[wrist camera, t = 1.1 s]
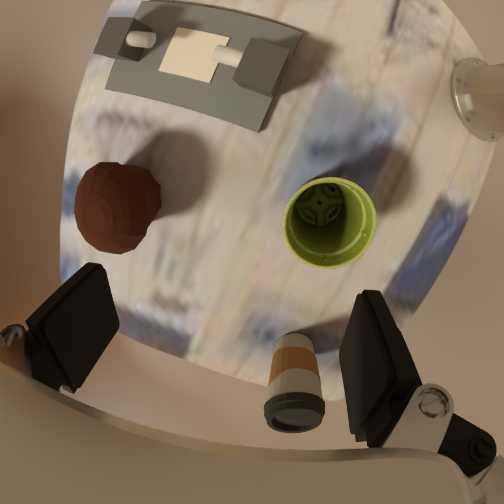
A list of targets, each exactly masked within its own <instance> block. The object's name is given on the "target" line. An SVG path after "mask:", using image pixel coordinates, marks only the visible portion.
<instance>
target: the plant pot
mask: <svg viewBox="0 0 504 504" xmlns="http://www.w3.org/2000/svg"><path fill="white" fill-rule="evenodd" d="M327 184H328V185H330V186H331V187H333V188H334V190H335V191H334V192H333V191H332V190H331V189H330V188H329V187H327V186H326V185H327ZM306 189H307V190H306ZM305 190H306V191H305ZM304 191H305V192H304ZM303 192H304V194H303V195H302V196H301V194H302V193H303ZM318 201H321V204H320V205H319V204H318V203H317V202H318ZM334 209H336V213H335V214H334V215H333V216H332V217H329V215H330V214H331V213H332V212H333V211H334ZM304 212H305V213H306V214H307V215H308V216H310V217H312V219H309V218H307V217H305V216H304V215H303V213H304ZM376 220H377V217H376V211H375V207H374V204H373V202H372V200H371V198H370V197H369V196H368V194H367V193H366V192H365V191H364V190H363V189H362V188H361V187H360V186H358V185H357V184H355V183H353V182H351V181H349V180H346V179H343V178H338V177H324V178H316V179H312V180H309V181H307V182H305V183H304V184H303V185H302V186H301V187H300V188H299V190H298V191H296V193H295V194H294V195H293V196H292V197H291V199H290V200H289V202H288V204H287V206H286V209H285V212H284V216H283V223H282V227H283V235H284V239H285V242H286V244H287V246H288V248H289V249H290V251H291V252H292V253H293V254H294V256H295V257H297V258H298V259H299V260H301V261H302V262H303V263H305V264H307V265H310V266H312V267H315V268H320V269H335V268H339V267H343V266H346V265H348V264H350V263H352V262H353V261H355V260H356V259H358V258H359V257H360V256H361V255H362V254H363V253H364V252H365V251H366V249H367V248H368V247H369V245H370V243H371V242H372V239H373V237H374V234H375V230H376Z"/></svg>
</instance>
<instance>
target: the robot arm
mask: <svg viewBox="0 0 504 504" xmlns="http://www.w3.org/2000/svg"><path fill="white" fill-rule="evenodd" d="M451 90H452V96H453V101H454V104H455V107H456V110H457V112H458V114H459V117H460V118H461V120H462V122H463V124H464V125H465V126H466V127H467V129H468V130H469V131H470V132H471V133H472V134H473V135H475V136H476V137H478V138H479V139H482V140H485V141H496V140H499V139H500V138H501V137H502V136H503V135H504V64H497V65H490V66H489V65H488V64H487V63H485V62H483V61H482V60H480V59H476V58H467V59H463V60H461V61H460V62H459V63H458V64H457V65H456V66H455V68H454V70H453V73H452V79H451ZM26 324H27V325H28V328H29V330H28V331H26V329H25V328H24V326H23V325H21V324H12V325H9V326H7V327H5V328H4V329H3V330H2V331H1V332H0V504H504V458H503V457H502V456H501V455H499V456H498V457H496V444H495V441H494V439H493V437H492V436H491V435H489V433H487V432H485V431H484V430H482V429H480V428H479V427H477V426H475V425H473V424H472V423H470V422H468V421H466V420H465V419H463V418H461V417H460V416H458V415H456V414H454V413H453V410H454V403H453V399H452V397H451V395H450V394H449V392H448V391H447V390H446V389H444V388H443V387H441V386H439V385H436V384H424V385H422V382H421V379H420V377H419V374H418V372H417V369H416V367H415V364H414V362H413V359H412V357H411V354H410V352H409V350H408V347H407V345H406V343H405V340H404V338H403V336H402V333H401V331H400V330H399V329H398V328H397V326H396V323H395V321H394V319H393V317H392V315H391V313H390V310H389V308H388V306H387V304H386V302H385V300H384V298H383V296H382V294H381V292H380V291H378V290H363V292H362V294H358V295H357V297H356V300H355V303H354V307H353V310H352V313H351V317H350V320H349V323H348V326H347V329H346V332H345V335H344V338H343V341H342V344H341V347H340V351H339V360H340V366H341V372H342V378H343V384H344V391H345V397H346V404H347V411H348V419H349V427H350V432H351V434H355V438H356V442H362V441H367V446H368V447H369V448H365V449H341V450H292V449H271V448H259V447H250V446H241V445H233V444H225V443H220V442H213V441H208V440H202V439H197V438H192V437H188V436H183V435H179V434H174V433H170V432H166V431H162V430H159V429H155V428H152V427H148V426H145V425H141V424H138V423H135V422H132V421H129V420H126V419H123V418H120V417H117V416H114V415H112V414H109V413H106V412H104V411H101V410H99V409H96V408H94V407H91V406H89V405H86V404H84V403H81V402H79V401H77V400H75V399H73V398H70V397H68V396H66V395H64V394H62V393H60V389H59V388H60V387H61V386H62V387H63V389H64V390H66V391H68V392H70V393H73V394H74V393H75V392H76V390H77V388H80V387H81V386H82V384H83V383H84V381H85V380H86V378H87V376H88V375H89V373H90V372H91V370H92V369H93V367H94V365H95V364H96V362H97V361H98V359H99V358H100V356H101V355H102V353H103V352H104V350H105V348H106V347H107V346H108V344H109V343H110V341H111V340H112V338H113V337H114V335H115V334H116V332H117V331H118V329H119V319H118V315H117V312H116V308H115V305H114V301H113V297H112V294H111V290H110V286H109V281H108V277H107V273H106V270H105V269H104V268H103V266H102V265H101V264H98V263H91V262H88V263H86V264H85V265H84V266H83V267H82V268H80V269H79V270H78V271H77V272H76V273H75V274H74V275H73V276H71V277H70V278H69V279H68V280H67V281H66V282H65V283H64V284H63V285H62V286H61V287H59V288H58V290H56V291H55V292H54V293H53V294H52V295H51V296H50V297H49V298H48V299H47V300H46V301H45V302H44V303H43V304H42V305H41V306H40V307H39V308H38V309H37V310H36V311H35V312H34V313H33V314H32V315H31V316H30V317H29V318H28V319H27V320H26Z"/></svg>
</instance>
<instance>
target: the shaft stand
mask: <svg viewBox="0 0 504 504" xmlns="http://www.w3.org/2000/svg"><path fill="white" fill-rule="evenodd" d="M301 36H302V32H300V31H297V30H294V29H291V28H288V27H286V26H283V25H279V24H276V23H273V22H270V21H266V20H263V19H259V18H256V17H252V16H248V15H244V14H240V13H236V12H231V11H226V10H221V9H216V8H210V7H204V6H198V5H190V4H182V3H171V2H157V1H142V2H141V4H140V6H139V8H138V10H137V12H136V14H135V16H134V18H127V17H108V19H107V22H106V24H105V26H104V28H103V30H102V33H101V35H100V37H99V40H98V42H97V44H96V47H95V49H94V52H93V53H95V54H99V55H103V56H106V57H110V58H113V59H115V61H114V64H113V66H112V69H111V72H110V75H109V78H108V81H107V84H106V87H105V89H107V90H112V91H117V92H122V93H127V94H132V95H136V96H141V97H145V98H149V99H153V100H157V101H161V102H165V103H169V104H173V105H176V106H180V107H183V108H187V109H190V110H194V111H197V112H200V113H203V114H206V115H210V116H213V117H216V118H219V119H222V120H225V121H228V122H230V123H233V124H236V125H239V126H242V127H244V128H247V129H250V130H252V131H255V132H259V130H260V128H261V125H262V123H263V121H264V118H265V116H266V113H267V111H268V109H269V107H270V104H271V102H272V100H273V97H274V95H275V93H276V90H277V88H278V86H279V84H280V81H281V79H282V77H283V75H284V73H285V70H286V68H287V66H288V64H289V62H290V59H291V57H292V55H293V53H294V51H295V49H296V46H297V44H298V42H299V40H300V38H301Z"/></svg>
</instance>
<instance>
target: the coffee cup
mask: <svg viewBox="0 0 504 504" xmlns="http://www.w3.org/2000/svg"><path fill="white" fill-rule="evenodd" d="M268 387H269V389H268V395H267V401H266V403H265V405H264V411H265V412H264V416H265V418H266V420H267V424H268V425H269V427H271V428H272V429H274V430H276V431H279V432H284V433H301V432H306V431H309V430H312V429H314V428H316V427H318V426H319V425H320V424H321V422H322V418H323V416H324V414H325V402H324V400H323V397H322V391H321V383H320V376H319V371H318V366H317V360H316V356H315V353H314V347H313V343H312V341H311V340H310V339H309V338H308V337H307V336H305V335H303V334H300V333H290V334H286V335H284V336H282V337H281V338H280V339H279V340H278V341H277V343H276V345H275V350H274V355H273V360H272V366H271V372H270V379H269V385H268Z"/></svg>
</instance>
